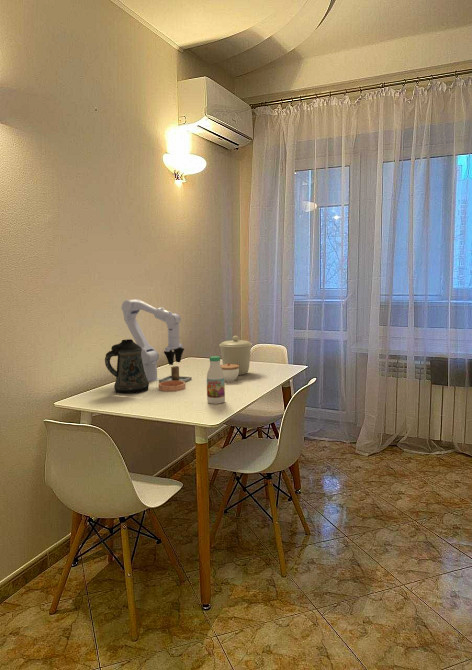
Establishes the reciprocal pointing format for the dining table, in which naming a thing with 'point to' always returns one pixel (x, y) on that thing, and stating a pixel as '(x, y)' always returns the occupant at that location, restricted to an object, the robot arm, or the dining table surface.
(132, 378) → the beer stein
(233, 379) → the lidded jar
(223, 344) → the canister
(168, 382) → the terracotta bowl
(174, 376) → the walnut peg
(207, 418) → the dining table surface
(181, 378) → the slate tray
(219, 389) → the milk bottle
